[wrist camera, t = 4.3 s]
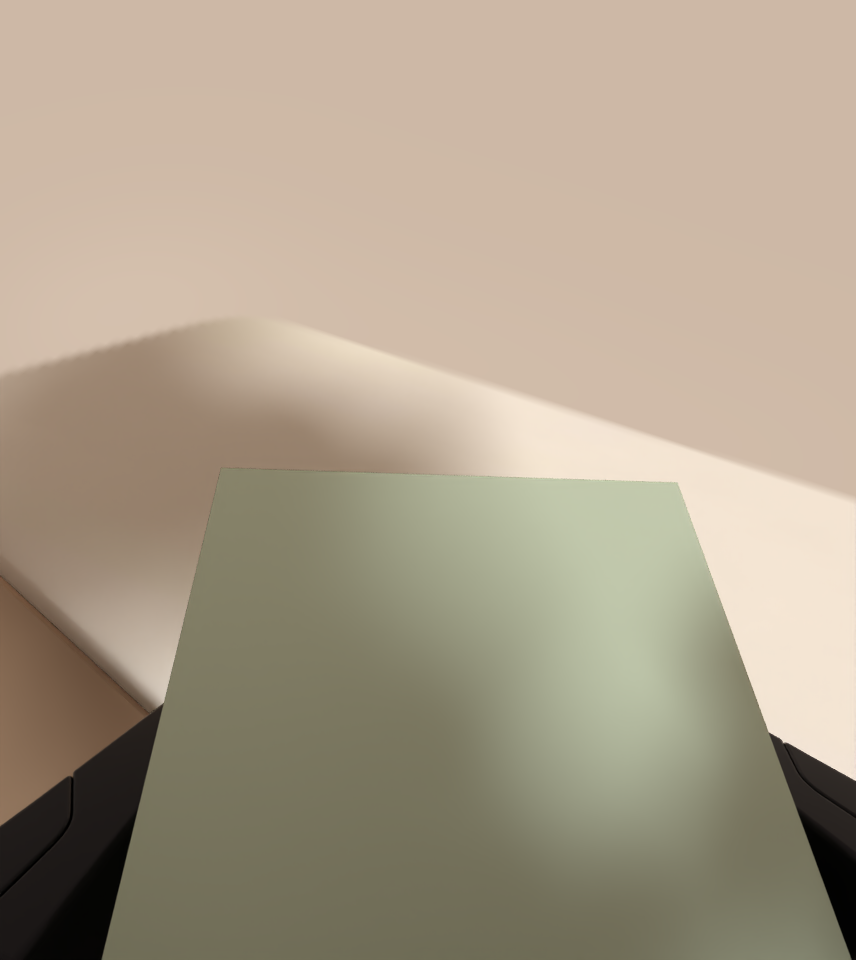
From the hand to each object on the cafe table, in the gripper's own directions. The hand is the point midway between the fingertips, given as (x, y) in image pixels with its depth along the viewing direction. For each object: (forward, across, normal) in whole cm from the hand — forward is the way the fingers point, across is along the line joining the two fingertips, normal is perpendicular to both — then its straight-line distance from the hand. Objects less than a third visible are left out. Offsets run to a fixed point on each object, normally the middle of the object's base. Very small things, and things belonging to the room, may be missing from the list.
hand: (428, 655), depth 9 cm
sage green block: (+4, 0, +6) cm, 7 cm away
